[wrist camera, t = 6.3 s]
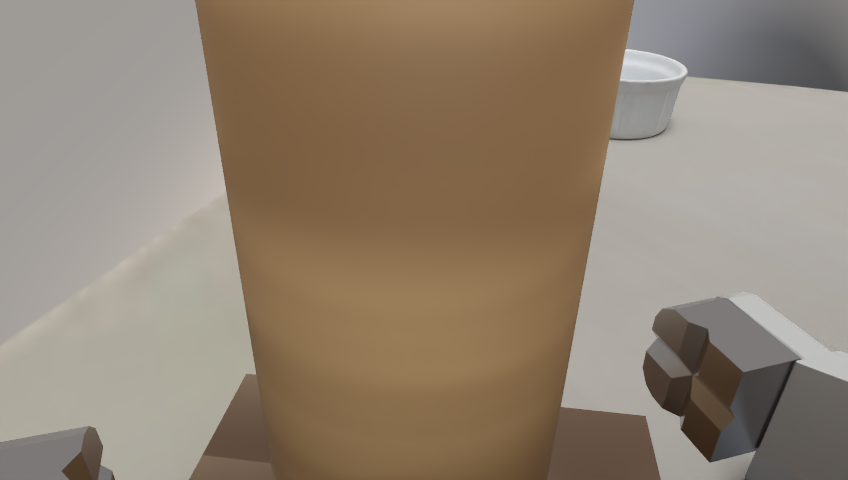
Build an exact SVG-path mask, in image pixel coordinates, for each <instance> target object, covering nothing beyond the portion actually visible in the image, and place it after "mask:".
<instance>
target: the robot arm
mask: <svg viewBox="0 0 848 480" xmlns="http://www.w3.org/2000/svg"><path fill="white" fill-rule="evenodd" d="M652 330H653V332H654V334H655V335H656V337H657V339H656V340H655V342H654V343H653V344H652V345H651V346H650V347H649V349H648V350H647V351H646V355H645V360H644V365H643V371H644V376H645V381H646V385H647V387H648V389H649V391H650V393H651V394H652V396H653V398H654V399H655V400H656V401H657V402H658V404H659V405H660V406H661V407H662V408H663V409H665V410H667V411H669V412H671V413H673V414H675V415H678V416H680V426H681V430H682V431H683V433H684V434H685V435H686V436H687V437H688V438H689V439H690V441H691V442H692V443H693V444H694V445H695V446H696V447H697V449H698V450H699V451H700V452H701V453H702V454H703V455H704V457H705V458H706V459H707V460H708V461H709V462H714V461H718V460H722V459H725V458H729V457H733V456H737V455H741V454H745V453H749V452H753V451H757V450H758V451H757V454H758V455H760V456H762V457H763V458H765V459H767V460H769V461H770V462H772V463H774V464H775V465H777V466H779V467H781V468H782V469H784V470H786V471H787V472H789V473H791V474H792V475H794V476H796V477H798V478H799V479H801V480H848V353H845V352H842V351H835V352H830V351H829V350H828V349H826V348H825V347H824V346H823V345H821V344H820V343H819V342H817V341H816V340H815V339H813V338H812V337H811V336H809V335H808V334H807V333H805V332H804V331H803V330H801V329H800V328H799V327H797V326H796V325H795V324H793V323H792V322H791V321H789V320H788V319H787V318H785V317H784V316H783V315H781V314H780V313H779V312H777V311H776V310H775V309H774V308H772V307H771V306H770V305H768V304H767V303H766V302H764V301H763V300H762V299H760V298H759V297H758V296H756V295H755V294H752V293H749V292H745V291H741V292H736V293H732V294H727V295H723V296H718V297H716V298H710V299H705V300H701V301H696V302H691V303H687V304H682V305H677V306H673V307H668V308H663V309H662V310H661V311H660V312H659V313H658V314H657V316H656V317H655V321H654V324H653V328H652ZM102 450H103V445H102V443H101V441H100V438H99V436H98V434H97V431H96V429H95V428H93V427H90V426H87V427H82V428H76V429H71V430H65V431H60V432H54V433H49V434H43V435H38V436H32V437H27V438H21V439H16V440H10V441H5V442H0V480H115V478H114V475H113V472H112V471H111V470H109V469H107V468H105V467H103V466H101V465H100V464H101V457H102Z"/></svg>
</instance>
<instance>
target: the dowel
mask: <svg viewBox="0 0 848 480" xmlns="http://www.w3.org/2000/svg"><path fill="white" fill-rule="evenodd" d="M195 2H196V8H197V14H198V20H199V26H200V32H201V39H202V45H203V50H204V57H205V63H206V68H207V75H208V81H209V87H210V93H211V99H212V106H213V111H214V118H215V124H216V130H217V136H218V142H219V148H220V154H221V161H222V167H223V172H224V178H225V185H226V191H227V197H228V203H229V210H230V216H231V222H232V228H233V234H234V240H235V246H236V252H237V258H238V265H239V271H240V277H241V283H242V289H243V295H244V301H245V307H246V313H247V319H248V326H249V332H250V338H251V344H252V350H253V356H254V362H255V368H256V374H257V381H258V387H259V393H260V399H261V405H262V411H263V417H264V423H265V429H266V436H267V442H268V448H269V454H270V460H271V466H272V472H273V478H274V480H547V478H548V473H549V467H550V462H551V456H552V451H553V445H554V440H555V434H556V429H557V423H558V418H559V412H560V407H561V401H562V396H563V390H564V385H565V379H566V374H567V368H568V362H569V357H570V351H571V346H572V340H573V335H574V329H575V324H576V318H577V313H578V307H579V302H580V296H581V291H582V285H583V280H584V274H585V269H586V263H587V258H588V252H589V247H590V241H591V236H592V230H593V225H594V219H595V214H596V208H597V203H598V197H599V192H600V186H601V181H602V175H603V170H604V164H605V159H606V153H607V148H608V142H609V137H610V131H611V126H612V120H613V115H614V109H615V104H616V98H617V93H618V87H619V82H620V76H621V71H622V65H623V60H624V54H625V49H626V43H627V38H628V32H629V27H630V21H631V15H632V10H633V4H634V0H195Z"/></svg>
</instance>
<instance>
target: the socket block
mask: <svg viewBox="0 0 848 480" xmlns="http://www.w3.org/2000/svg"><path fill="white" fill-rule="evenodd" d="M189 480H274V478H273V472H272V466H271V460H270V454H269V448H268V442H267V436H266V429H265V423H264V417H263V411H262V405H261V399H260V393H259V387H258V381H257V375H252V374H246V376H245V377H244V379H243V381H242V383H241V385H240V387H239V389H238V390H237V392H236V394H235V396H234V398H233V400H232V401H231V403H230V405H229V407H228V409H227V411H226V413H225V414H224V416H223V418H222V420H221V422H220V424H219V426H218V427H217V429H216V431H215V433H214V435H213V437H212V438H211V440H210V442H209V444H208V446H207V448H206V450H205V451H204V453H203V455H202V457H201V459H200V461H199V463H198V464H197V466H196V468H195V470H194V472H193V474H192V476H191V477H190V479H189ZM547 480H661V479H660V475H659V471H658V467H657V462H656V458H655V454H654V450H653V446H652V442H651V437H650V433H649V429H648V425H647V421H646V416H639V415H630V414H620V413H611V412H602V411H592V410H583V409H573V408H564V407H560V412H559V418H558V423H557V429H556V434H555V440H554V445H553V451H552V456H551V462H550V467H549V473H548V478H547Z"/></svg>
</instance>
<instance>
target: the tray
mask: <svg viewBox="0 0 848 480" xmlns="http://www.w3.org/2000/svg"><path fill="white" fill-rule="evenodd" d="M757 451H758V450H757ZM757 451H756V452H755V455H754V457H753V459H752V462H751V464H750V466H749V469H748V471H747V473H746V476H745V477H746V480H801V479H799V478H798V477H796V476H794V475H792V474H791V473H789V472H787V471H786V470H784V469H782V468H781V467H779V466H777V465H775V464H774V463H772V462H770V461H769V460H767V459H765V458H763V457H762V456H760V455H758V454H757Z"/></svg>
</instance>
